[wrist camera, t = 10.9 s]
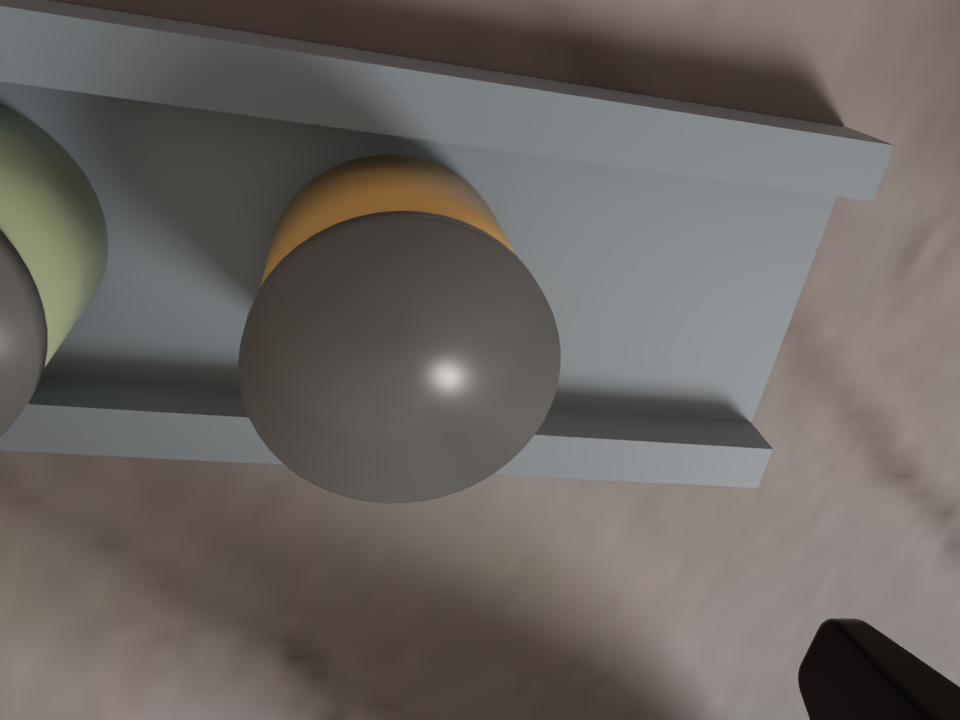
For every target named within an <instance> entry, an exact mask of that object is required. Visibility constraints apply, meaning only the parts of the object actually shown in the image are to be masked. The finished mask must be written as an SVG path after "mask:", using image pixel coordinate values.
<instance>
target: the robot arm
mask: <svg viewBox="0 0 960 720" xmlns="http://www.w3.org/2000/svg"><path fill="white" fill-rule="evenodd" d="M798 682H799V688H800V692H801V695H802V698H803V701H804V704H805V706H806V709H807V712H808V715H809V718H810V720H960V687H959V686H957V685H956V684H954V683H953V682H951V681H950V680H949V679H947V678H946V677H944V676H943V675H941V674H940V673H938V672H937V671H936V670H934V669H933V668H931V667H930V666H928V665H927V664H926V663H924V662H923V661H921V660H920V659H918V658H917V657H915V656H914V655H913V654H911V653H910V652H908V651H907V650H905V649H904V648H902V647H901V646H900V645H898V644H897V643H895V642H894V641H892V640H891V639H889V638H888V637H887V636H885V635H884V634H882V633H881V632H879V631H878V630H876V629H875V628H874V627H872V626H871V625H869V624H868V623H866V622H864V621H862V620H858V619H828V620H826V621H824V622H823V623H822V624H821V625H820V627H819V629H818V631H817V633H816V635H815V637H814V639H813V641H812V643H811V645H810V647H809V649H808V651H807V653H806V655H805V657H804V659H803V661H802V663H801V665H800V668H799V673H798Z"/></svg>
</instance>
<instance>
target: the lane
mask: <svg viewBox="0 0 960 720" xmlns="http://www.w3.org/2000/svg"><path fill="white" fill-rule="evenodd" d="M0 105H2V106H4V107H6V108H9V109H11V110H13V111H14V112H16V113H18V114H20V115H21V116H23V117H25V118H27V119H28V120H30V121H31V122H33V123H34V124H36V125H37V126H38V127H40V128H41V129H42V130H44V131H45V132H47V133H48V134H49V135H50V136H51V137H52V138H53V139H54V140H56V141H57V142H58V143H59V144H60V145H61V146H62V147H63V148H64V149H65V150H66V151H67V152H68V153H69V155H70V156H71V157H72V158H73V159H74V160H75V161H76V163H77V164H78V165H79V167H80V168H81V169H82V171H83V172H84V174H85V175H86V176H87V178H88V180H89V182H90V184H91V185H92V187H93V189H94V191H95V193H96V195H97V197H98V200H99V202H100V205H101V207H102V210H103V214H104V218H105V222H106V226H107V234H108V259H107V264H106V269H105V273H104V276H103V279H102V282H101V284H100V287H99V288H98V290H97V292H96V294H95V296H94V297H93V299H92V300H91V302H90V303H89V305H88V306H87V308H86V309H85V310H84V312H83V313H82V315H81V316H80V318H79V319H78V320H77V322H76V323H75V325H74V326H73V328H72V329H71V331H70V332H69V333H68V335H67V336H66V338H65V339H64V341H63V342H62V343H61V345H60V346H59V348H58V349H57V351H56V352H55V353H54V355H53V356H52V358H51V359H50V361H49V362H48V364H47V365H46V366H45V368H44V371H43V373H42V376H41V379H40V382H39V385H38V387H37V388H36V390H35V392H34V394H33V396H32V397H31V399H30V401H29V402H28V404H27V405H26V407H25V408H24V410H23V411H22V413H21V414H20V416H19V417H18V418H17V420H16V421H15V422H14V423H13V425H12V426H11V427H10V428H9V430H8V431H7V432H6V433H5V434H4V435H2V436H1V437H0V451H12V452H32V453H53V454H73V455H94V456H114V457H135V458H155V459H176V460H196V461H217V462H237V463H258V464H278V465H284V464H283V463H282V462H281V461H280V460H279V459H278V458H277V457H276V456H275V455H274V454H273V453H272V452H271V451H270V450H269V449H268V447H267V446H266V445H265V443H264V442H263V441H262V439H261V438H260V437H259V435H258V434H257V432H256V430H255V428H254V426H253V425H252V423H251V421H250V419H249V417H248V414H247V411H246V409H245V406H244V403H243V400H242V395H241V390H240V385H239V374H238V359H239V350H240V342H241V339H242V335H243V331H244V327H245V323H246V320H247V316H248V312H249V310H250V307H251V305H252V303H253V300H254V298H255V296H256V294H257V292H258V290H259V289H260V287H261V283H262V279H263V274H264V270H265V266H266V262H267V258H268V253H269V249H270V245H271V242H272V238H273V234H274V231H275V229H276V226H277V224H278V222H279V219H280V217H281V216H282V214H283V212H284V211H285V209H286V208H287V206H288V204H289V203H290V202H291V201H292V199H293V198H294V197H295V196H296V195H297V193H298V192H299V191H300V190H301V189H303V188H304V187H305V186H306V185H307V184H308V183H309V182H310V181H312V180H313V179H314V178H316V177H317V176H319V175H320V174H322V173H323V172H325V171H327V170H329V169H331V168H333V167H335V166H337V165H339V164H342V163H345V162H347V161H350V160H353V159H357V158H362V157H367V156H373V155H403V156H409V157H414V158H419V159H423V160H426V161H429V162H432V163H435V164H437V165H439V166H441V167H444V168H446V169H448V170H450V171H451V172H453V173H454V174H456V175H457V176H459V177H460V178H462V179H463V180H465V181H466V182H467V183H468V184H469V185H470V186H471V187H473V188H474V189H475V190H476V191H477V192H478V193H479V195H480V196H481V197H482V198H483V199H484V200H485V202H486V203H487V205H488V206H489V208H490V209H491V211H492V212H493V214H494V216H495V217H496V219H497V221H498V223H499V225H500V227H501V228H502V230H503V232H504V234H505V236H506V238H507V240H508V241H509V243H510V245H511V247H512V249H513V251H514V252H515V254H516V255H517V257H518V258H519V259H520V260H521V261H522V262H523V263H524V265H525V266H526V267H527V268H528V269H529V271H530V272H531V274H532V275H533V277H534V278H535V280H536V281H537V283H538V285H539V286H540V288H541V290H542V292H543V293H544V295H545V297H546V299H547V301H548V303H549V306H550V308H551V310H552V312H553V315H554V318H555V322H556V325H557V329H558V332H559V340H560V348H561V366H560V374H559V380H558V386H557V389H556V393H555V396H554V399H553V402H552V405H551V407H550V409H549V411H548V413H547V415H546V417H545V420H544V421H543V423H542V424H541V426H540V427H539V429H538V431H537V432H536V434H535V435H534V436H533V438H532V439H531V440H530V441H529V442H528V444H527V445H526V446H525V447H524V449H523V450H522V451H520V452H519V453H518V454H517V455H516V456H515V457H514V458H513V459H512V460H511V461H510V462H509V463H507V464H506V465H505V466H503V467H502V468H501V469H500V470H498V471H497V472H496V473H494V474H492V475H504V476H524V477H545V478H565V479H586V480H606V481H627V482H647V483H668V484H688V485H709V486H729V487H750V488H758V485H759V483H760V480H761V478H762V475H763V473H764V470H765V468H766V465H767V463H768V460H769V458H770V455H771V453H772V450H773V449H772V447H771V446H770V445H769V444H768V443H767V441H766V440H765V439H764V438H763V437H762V435H761V434H760V433H759V432H758V431H757V429H756V428H755V427H754V426H753V425H752V421H753V418H754V415H755V413H756V410H757V407H758V405H759V402H760V400H761V397H762V394H763V392H764V389H765V386H766V384H767V381H768V378H769V376H770V373H771V371H772V368H773V365H774V363H775V360H776V357H777V355H778V352H779V349H780V347H781V344H782V341H783V339H784V336H785V334H786V331H787V328H788V326H789V323H790V320H791V318H792V315H793V312H794V310H795V307H796V305H797V302H798V299H799V297H800V294H801V291H802V289H803V286H804V283H805V281H806V278H807V276H808V273H809V270H810V268H811V265H812V262H813V260H814V257H815V254H816V252H817V249H818V247H819V244H820V241H821V239H822V236H823V233H824V231H825V228H826V225H827V223H828V220H829V218H830V215H831V212H832V210H833V207H834V204H835V202H836V199H837V197H842V198H850V199H857V200H864V201H871V202H872V201H873V198H874V196H875V193H876V191H877V188H878V186H879V183H880V181H881V178H882V176H883V173H884V171H885V168H886V166H887V163H888V161H889V158H890V156H891V153H892V151H893V148H894V146H895V145H892V144H889V143H887V142H884V141H882V140H879V139H876V138H874V137H871V136H868V135H866V134H863V133H860V132H858V131H855V130H853V129H850V128H847V127H842V126H836V125H829V124H823V123H817V122H811V121H804V120H798V119H792V118H786V117H779V116H773V115H767V114H760V113H754V112H748V111H742V110H735V109H729V108H723V107H716V106H710V105H704V104H698V103H691V102H685V101H679V100H673V99H666V98H660V97H654V96H647V95H641V94H635V93H629V92H622V91H616V90H610V89H603V88H597V87H591V86H585V85H578V84H572V83H566V82H559V81H553V80H547V79H541V78H534V77H528V76H522V75H516V74H509V73H503V72H497V71H490V70H484V69H478V68H472V67H465V66H459V65H453V64H446V63H440V62H434V61H428V60H421V59H415V58H409V57H403V56H396V55H390V54H384V53H377V52H371V51H365V50H359V49H352V48H346V47H340V46H333V45H327V44H321V43H315V42H308V41H302V40H296V39H290V38H283V37H277V36H271V35H264V34H258V33H252V32H246V31H239V30H233V29H227V28H220V27H214V26H208V25H202V24H195V23H189V22H183V21H176V20H170V19H164V18H158V17H151V16H145V15H139V14H133V13H126V12H120V11H114V10H107V9H101V8H95V7H89V6H82V5H76V4H70V3H63V2H57V1H51V0H0Z"/></svg>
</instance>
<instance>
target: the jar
mask: <svg viewBox="0 0 960 720" xmlns="http://www.w3.org/2000/svg"><path fill="white" fill-rule="evenodd" d="M560 366H561V348H560V340H559V332H558V329H557V325H556V322H555V318H554V315H553V312H552V310H551V308H550V306H549V303H548V301H547V299H546V297H545V295H544V293H543V292H542V290H541V288H540V286H539V285H538V283H537V281H536V280H535V278H534V277H533V275H532V274H531V272H530V271H529V269H528V268H527V267H526V266H525V265H524V263H523V262H522V261H521V260H520V259H519V258H518V257H517V255H516V254H515V252H514V251H513V249H512V247H511V245H510V243H509V241H508V240H507V238H506V236H505V234H504V232H503V230H502V228H501V227H500V225H499V223H498V221H497V219H496V217H495V216H494V214H493V212H492V211H491V209H490V208H489V206H488V205H487V203H486V202H485V200H484V199H483V198H482V197H481V196H480V195H479V193H478V192H477V191H476V190H475V189H474V188H473V187H471V186H470V185H469V184H468V183H467V182H466V181H465V180H463V179H462V178H460V177H459V176H457V175H456V174H454V173H453V172H451V171H450V170H448V169H446V168H444V167H441V166H439V165H437V164H435V163H432V162H429V161H426V160H423V159H419V158H414V157H409V156H403V155H373V156H367V157H362V158H357V159H353V160H350V161H347V162H345V163H342V164H339V165H337V166H335V167H333V168H331V169H329V170H327V171H325V172H323V173H322V174H320V175H319V176H317V177H316V178H314V179H313V180H312V181H310V182H309V183H308V184H307V185H306V186H305V187H304V188H303V189H301V190H300V191H299V192H298V193H297V195H296V196H295V197H294V198H293V199H292V201H291V202H290V203H289V204H288V206H287V208H286V209H285V211H284V212H283V214H282V216H281V217H280V219H279V222H278V224H277V226H276V229H275V231H274V234H273V238H272V242H271V245H270V249H269V253H268V258H267V262H266V266H265V270H264V274H263V279H262V283H261V287H260V289H259V290H258V292H257V294H256V296H255V298H254V300H253V303H252V305H251V307H250V310H249V312H248V316H247V320H246V323H245V327H244V331H243V335H242V339H241V342H240V350H239V359H238V374H239V385H240V390H241V395H242V400H243V403H244V406H245V409H246V411H247V414H248V417H249V419H250V421H251V423H252V425H253V426H254V428H255V430H256V432H257V434H258V435H259V437H260V438H261V439H262V441H263V442H264V443H265V445H266V446H267V447H268V449H269V450H270V451H271V452H272V453H273V454H274V455H275V456H276V457H277V458H278V459H279V460H280V461H281V462H282V463H283V464H284V465H286V466H287V467H288V468H289V469H291V470H292V471H293V472H295V473H296V474H297V475H299V476H300V477H302V478H304V479H305V480H307V481H309V482H310V483H312V484H314V485H316V486H318V487H321V488H323V489H325V490H327V491H329V492H332V493H335V494H338V495H342V496H345V497H348V498H352V499H357V500H362V501H367V502H378V503H410V502H419V501H426V500H430V499H435V498H439V497H444V496H447V495H450V494H453V493H456V492H459V491H461V490H464V489H466V488H468V487H470V486H472V485H475V484H477V483H479V482H481V481H482V480H484V479H486V478H487V477H489V476H491V475H492V474H494V473H496V472H497V471H498V470H500V469H501V468H502V467H503V466H505V465H506V464H507V463H509V462H510V461H511V460H512V459H513V458H514V457H515V456H516V455H517V454H518V453H519V452H520V451H522V450H523V449H524V447H525V446H526V445H527V444H528V442H529V441H530V440H531V439H532V438H533V436H534V435H535V434H536V432H537V431H538V429H539V427H540V426H541V424H542V423H543V421H544V420H545V417H546V415H547V413H548V411H549V409H550V407H551V405H552V402H553V399H554V396H555V393H556V389H557V386H558V380H559V374H560Z"/></svg>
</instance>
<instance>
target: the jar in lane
mask: <svg viewBox="0 0 960 720" xmlns="http://www.w3.org/2000/svg"><path fill="white" fill-rule="evenodd" d="M107 259H108V234H107V226H106V222H105V218H104V214H103V210H102V207H101V205H100V202H99V200H98V197H97V195H96V193H95V191H94V189H93V187H92V185H91V184H90V182H89V180H88V178H87V176H86V175H85V174H84V172H83V171H82V169H81V168H80V167H79V165H78V164H77V163H76V161H75V160H74V159H73V158H72V157H71V156H70V155H69V153H68V152H67V151H66V150H65V149H64V148H63V147H62V146H61V145H60V144H59V143H58V142H57V141H56V140H54V139H53V138H52V137H51V136H50V135H49V134H48V133H47V132H45V131H44V130H42V129H41V128H40V127H38V126H37V125H36V124H34V123H33V122H31V121H30V120H28V119H27V118H25V117H23V116H21V115H20V114H18V113H16V112H14V111H13V110H11V109H9V108H6V107H4V106H2V105H0V437H1V436H2V435H4V434H5V433H6V432H7V431H8V430H9V428H10V427H11V426H12V425H13V423H14V422H15V421H16V420H17V418H18V417H19V416H20V414H21V413H22V411H23V410H24V408H25V407H26V405H27V404H28V402H29V401H30V399H31V397H32V396H33V394H34V392H35V390H36V388H37V387H38V385H39V382H40V379H41V376H42V373H43V371H44V368H45V366H46V365H47V364H48V362H49V361H50V359H51V358H52V356H53V355H54V353H55V352H56V351H57V349H58V348H59V346H60V345H61V343H62V342H63V341H64V339H65V338H66V336H67V335H68V333H69V332H70V331H71V329H72V328H73V326H74V325H75V323H76V322H77V320H78V319H79V318H80V316H81V315H82V313H83V312H84V310H85V309H86V308H87V306H88V305H89V303H90V302H91V300H92V299H93V297H94V296H95V294H96V292H97V290H98V288H99V287H100V284H101V282H102V279H103V276H104V273H105V269H106V264H107Z"/></svg>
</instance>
